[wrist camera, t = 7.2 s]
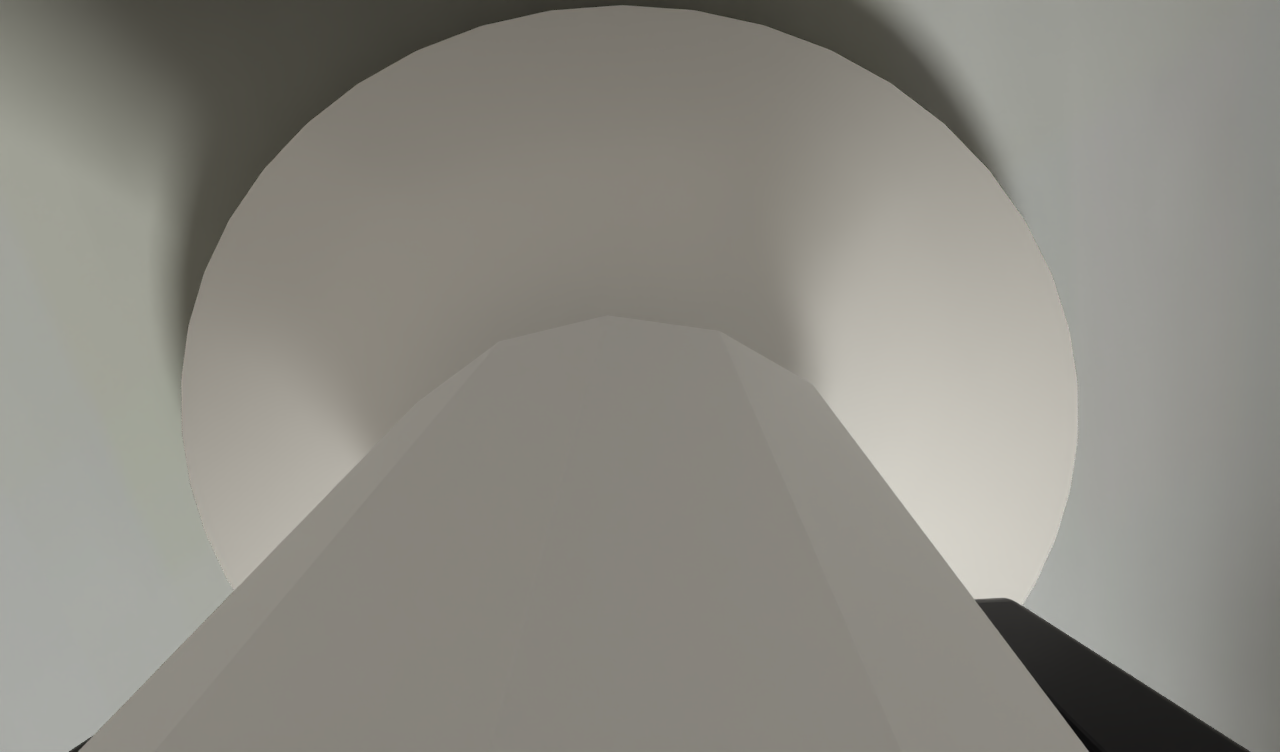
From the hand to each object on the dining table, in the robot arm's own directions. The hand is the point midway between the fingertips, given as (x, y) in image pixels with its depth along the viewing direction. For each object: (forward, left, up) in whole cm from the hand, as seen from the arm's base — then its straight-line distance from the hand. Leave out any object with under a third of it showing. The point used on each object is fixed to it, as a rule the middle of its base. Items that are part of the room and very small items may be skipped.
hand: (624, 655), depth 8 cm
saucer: (0, 0, -4) cm, 4 cm away
